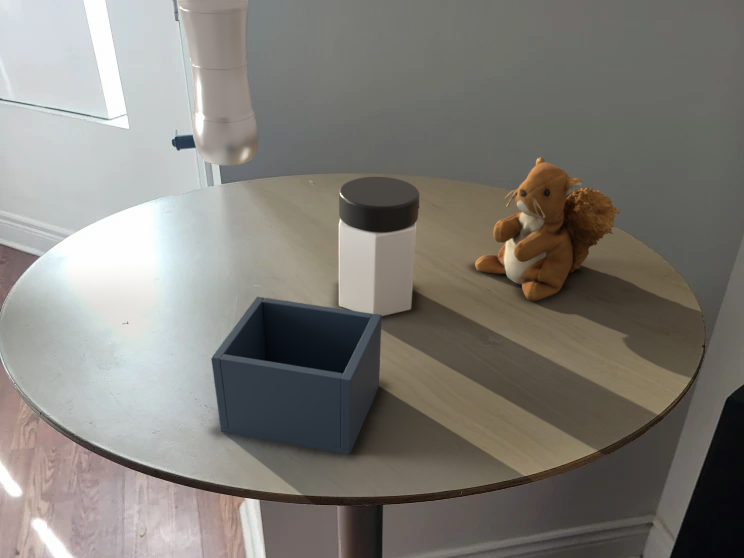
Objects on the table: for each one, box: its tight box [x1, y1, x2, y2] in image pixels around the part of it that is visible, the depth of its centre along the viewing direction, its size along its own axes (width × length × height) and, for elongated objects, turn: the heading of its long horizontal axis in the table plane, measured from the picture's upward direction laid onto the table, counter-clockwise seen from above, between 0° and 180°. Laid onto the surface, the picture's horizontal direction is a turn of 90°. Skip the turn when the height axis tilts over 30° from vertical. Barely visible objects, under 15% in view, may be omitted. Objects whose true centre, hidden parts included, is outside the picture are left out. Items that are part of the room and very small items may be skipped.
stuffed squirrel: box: [474, 157, 621, 302], centre depth 87 cm, size 10×14×13 cm
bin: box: [210, 296, 383, 455], centre depth 68 cm, size 12×11×8 cm
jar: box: [338, 176, 420, 317], centre depth 82 cm, size 9×8×12 cm
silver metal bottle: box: [177, 0, 260, 167], centre depth 72 cm, size 6×7×20 cm
